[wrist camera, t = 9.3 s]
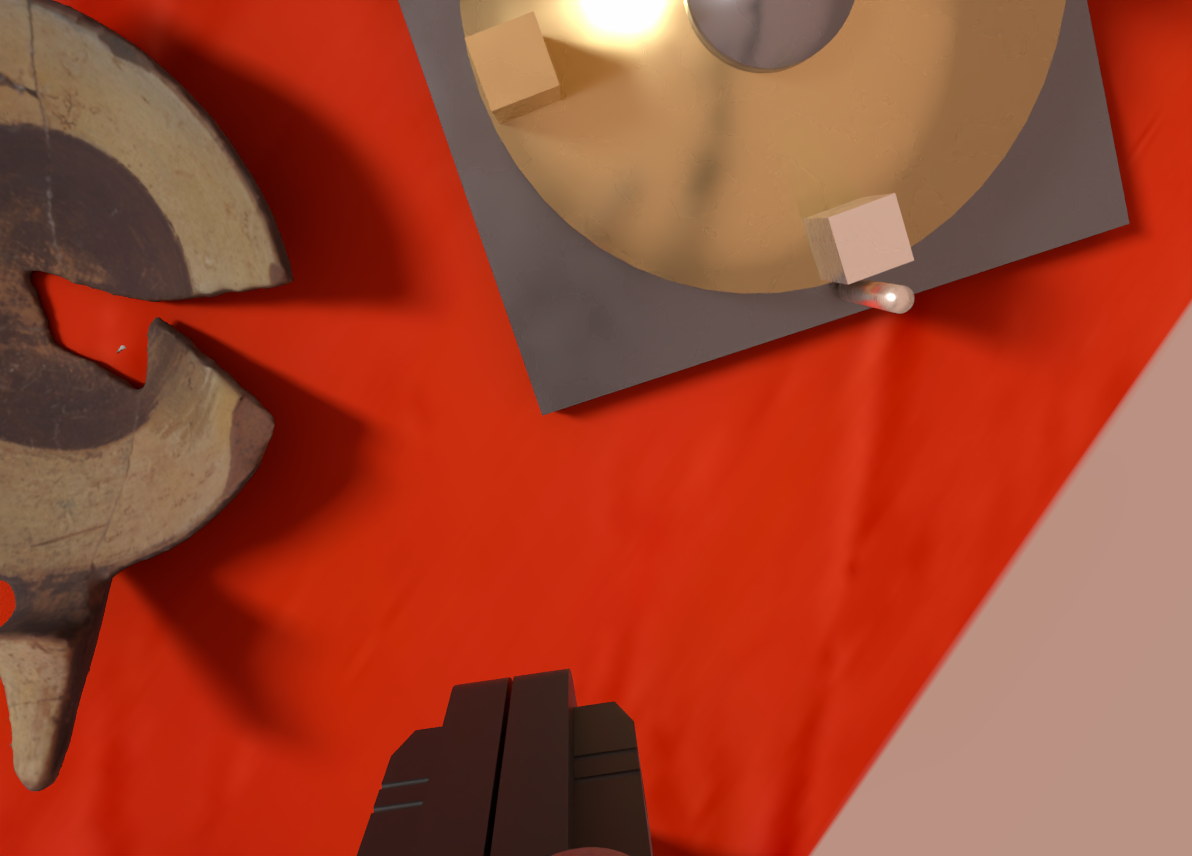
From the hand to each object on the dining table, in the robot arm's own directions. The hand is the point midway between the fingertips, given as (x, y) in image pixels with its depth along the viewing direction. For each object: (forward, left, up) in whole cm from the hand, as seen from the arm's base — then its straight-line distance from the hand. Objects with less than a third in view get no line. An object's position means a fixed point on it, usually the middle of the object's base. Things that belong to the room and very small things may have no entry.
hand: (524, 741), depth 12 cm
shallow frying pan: (+8, +21, -29) cm, 37 cm away
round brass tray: (+12, -12, -27) cm, 32 cm away
